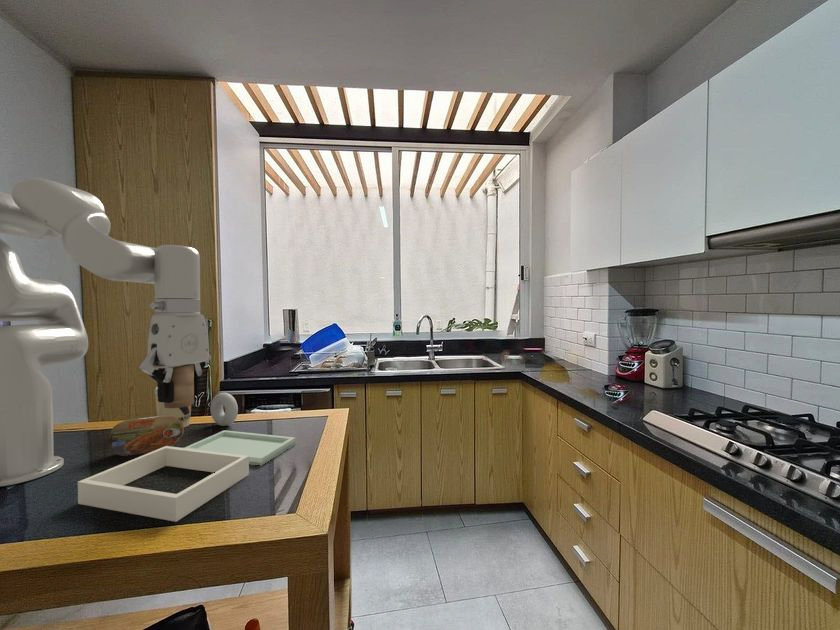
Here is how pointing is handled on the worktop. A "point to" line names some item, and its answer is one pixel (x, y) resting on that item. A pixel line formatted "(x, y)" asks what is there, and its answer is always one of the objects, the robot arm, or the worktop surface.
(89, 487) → the white rectangular frame
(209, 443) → the tray
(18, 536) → the worktop surface
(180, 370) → the wooden cylinder
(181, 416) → the coffee cup
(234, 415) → the donut
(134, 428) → the tin
